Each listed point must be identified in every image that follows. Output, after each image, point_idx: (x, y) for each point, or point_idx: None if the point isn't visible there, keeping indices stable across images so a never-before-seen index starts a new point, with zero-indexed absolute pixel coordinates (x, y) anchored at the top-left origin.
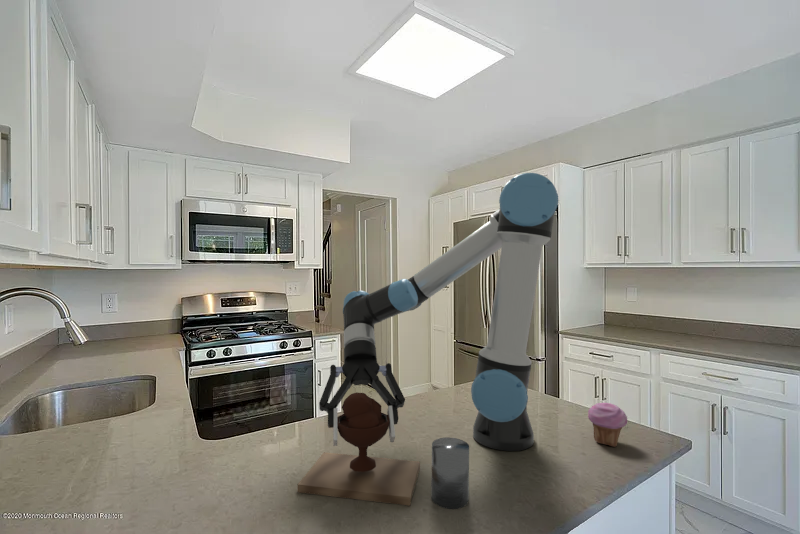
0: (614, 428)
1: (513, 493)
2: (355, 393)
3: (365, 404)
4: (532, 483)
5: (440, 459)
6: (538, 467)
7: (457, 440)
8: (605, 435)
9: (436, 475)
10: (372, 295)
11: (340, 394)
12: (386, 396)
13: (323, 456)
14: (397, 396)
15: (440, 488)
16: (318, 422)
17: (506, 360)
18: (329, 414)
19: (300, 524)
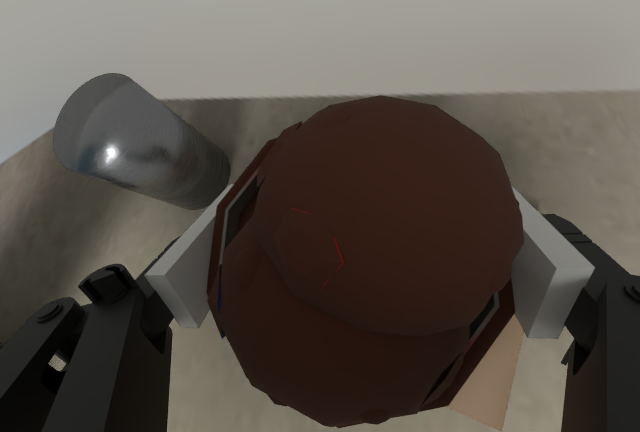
0: None
1: (96, 183)
2: (404, 174)
3: (310, 117)
4: (52, 212)
5: (153, 96)
6: (9, 267)
7: (67, 150)
8: None
9: (191, 129)
10: None
11: (629, 426)
12: (120, 345)
13: (497, 392)
14: (50, 344)
15: (201, 134)
16: None
17: None
18: (596, 257)
19: (494, 101)
